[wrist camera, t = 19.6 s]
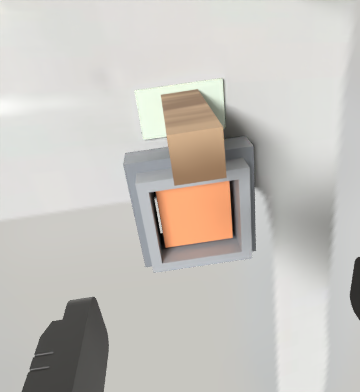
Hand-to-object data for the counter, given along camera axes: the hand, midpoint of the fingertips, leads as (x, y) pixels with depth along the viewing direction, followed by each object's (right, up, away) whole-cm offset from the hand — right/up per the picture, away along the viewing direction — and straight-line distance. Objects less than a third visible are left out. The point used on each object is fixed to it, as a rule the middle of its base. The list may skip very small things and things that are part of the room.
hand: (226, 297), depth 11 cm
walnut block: (-1, +11, +21) cm, 24 cm away
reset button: (0, +3, +26) cm, 26 cm away
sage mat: (-1, +11, +21) cm, 24 cm away
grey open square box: (0, +3, +26) cm, 26 cm away
